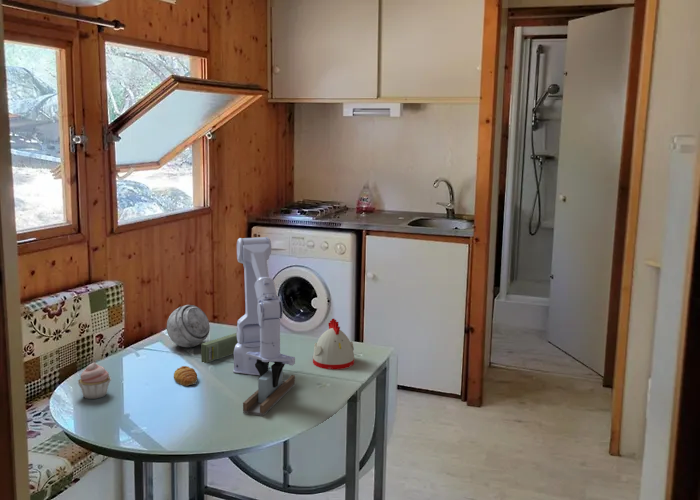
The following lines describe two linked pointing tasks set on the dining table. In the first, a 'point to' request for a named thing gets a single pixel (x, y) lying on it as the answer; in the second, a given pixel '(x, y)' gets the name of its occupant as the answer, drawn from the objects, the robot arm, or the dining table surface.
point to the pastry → (185, 376)
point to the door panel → (267, 385)
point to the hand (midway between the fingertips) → (270, 385)
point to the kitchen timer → (333, 349)
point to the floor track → (262, 408)
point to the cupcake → (94, 381)
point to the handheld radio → (218, 348)
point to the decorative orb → (188, 326)
